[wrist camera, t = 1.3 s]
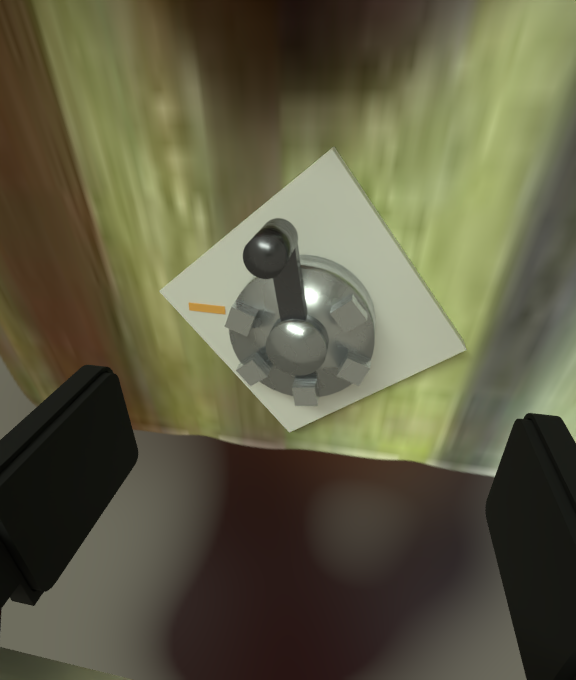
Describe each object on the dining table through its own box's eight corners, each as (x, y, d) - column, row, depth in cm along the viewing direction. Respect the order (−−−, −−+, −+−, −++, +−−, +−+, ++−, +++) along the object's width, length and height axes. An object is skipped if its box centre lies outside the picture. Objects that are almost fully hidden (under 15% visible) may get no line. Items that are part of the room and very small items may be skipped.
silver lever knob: (378, 375, 34) (377, 443, 28) (254, 376, 37) (225, 439, 30) (368, 194, 27) (364, 226, 21) (216, 212, 30) (167, 246, 23)
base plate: (334, 146, 28) (331, 148, 26) (463, 340, 33) (466, 350, 32) (166, 284, 36) (158, 291, 35) (292, 422, 41) (289, 433, 40)
